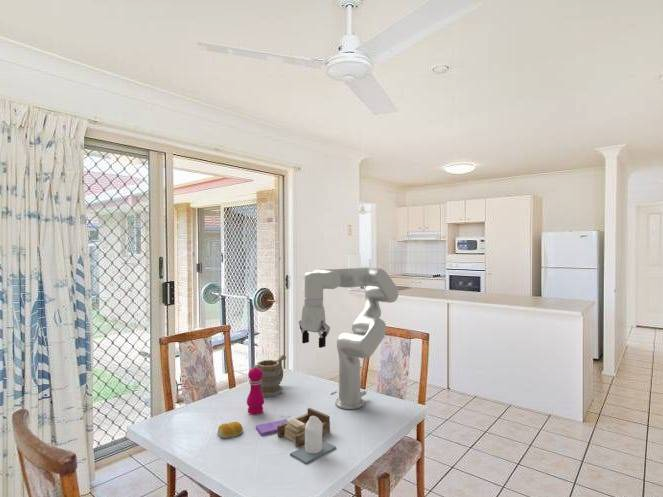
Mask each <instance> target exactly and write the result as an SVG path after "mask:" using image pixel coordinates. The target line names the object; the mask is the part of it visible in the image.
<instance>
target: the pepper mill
mask: <svg viewBox="0 0 663 497" xmlns="http://www.w3.org/2000/svg"><path fill="white" fill-rule="evenodd" d="M257 367H258V366H257V364H254V365H253V366H252V368H251V369H249V371H248V378H249V384H250V390H249V394H248V396H247V399H246V405H247V406H248V408H247V413H248V415H252V416H253V415H261V414H262V413H263V412H264V407H263V405H264V403H265V397H263V395H262V392H261V389H260V384H261V383H262V382H261V378H262V376H263V372H262V370H261V369H259V368H257Z"/></svg>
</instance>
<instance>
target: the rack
mask: <svg viewBox="0 0 663 497" xmlns="http://www.w3.org/2000/svg"><path fill="white" fill-rule="evenodd" d="M311 416H316V417H318V418H319V420H320V421H321V422H322V427H323V428H322V437H323V436H325V435H327V434H329V433H330V431H331V421H330V417H331V416H330V415H328V414H325V413H323V412H321V411H318V410H316V409H313V408H312V407H308V408H307V413H305V414H303V415H300V416H298V417H296V418H294V419H297V420H299V421H300V422H302V423H304V424H305V425H306V423H307V422H308V420H309V418H310V417H311ZM285 426H287V422H285V423H283V424H280V425H278V426H277V433H276V434H277V437H278V438H282V437H285ZM303 446H305V431H304V432H301V433H299V434H297V435H296V442H295V447H296V448H301V447H303Z"/></svg>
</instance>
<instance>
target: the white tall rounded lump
mask: <svg viewBox="0 0 663 497" xmlns="http://www.w3.org/2000/svg"><path fill="white" fill-rule="evenodd" d="M322 428H323V427H322V422H321V421H320V420H319V418H318V417H316V416H311V417H310V418H309V420H308V422H307V423H306V425H305V444H304V446H305V451H306V452H308V453H318V452H320V451H321V450H322V440H323V436H322Z"/></svg>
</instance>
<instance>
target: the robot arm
mask: <svg viewBox="0 0 663 497" xmlns="http://www.w3.org/2000/svg"><path fill="white" fill-rule="evenodd" d="M338 287H339V288H358V287H360V288H361V287H365V290H364V296H365V298H364V299H365V305H364V307H363V309H362V310H361V312H360V314H358V316H357V317H356V318H355V320H354V322H353V323H352V325H351V331H352V332H348V331H346V332H342V333H340V334H339V335H338V337H337V339H336V349H337V354H338V398H336V399H335V402H334V403H335V406H336V407H338V408H340V409H343V410H357V409H360V408H363V406H364V404H365V401H364V400H363V399H362V398H363V396H366V395H367V391H366V390H361V362H360V361H361V360H360V359H369V358H370V357H372V355H374V353H375V351H376V350H377V349H378V347H379V345H381V343H382V341H383V340H384V338H385V335H386V333H387V324H386V322H385V321H384V320H383V319H381V316H382V309H381V306H380V303H379V302H382V303H391V304H392V303H395V302H396V301H397V300H398V298H399V289H398V287H397V285H396V284H395V283H394V281H393V280H392V278H391V276H390V275H389V274H388V273H387V272H386V271H385V269H382V268H379V267H352V268H351V267H350V268H349V267H348V268H334V269H333V268H332V269H331V268H329V269H315V270H313V271H307V272H306V273H304V299H303V301H304V304H303V306H302V310H301V319H300V320H299V321H298V325H299V329H300V333H301V335H302V337H301V340H302V341H301V344H307V343H309V342H310V333H309V332H312V333H317V334H318V336H319V337H318V348H320V349H321V348H325V347H326V344H327V343H326V342H327V341H326V338H327V337H328V335H329V334H330V329H331V326H330V325H328V323H326V313H325V307H324V290H325V289H327V290H334V289H337V288H338Z"/></svg>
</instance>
